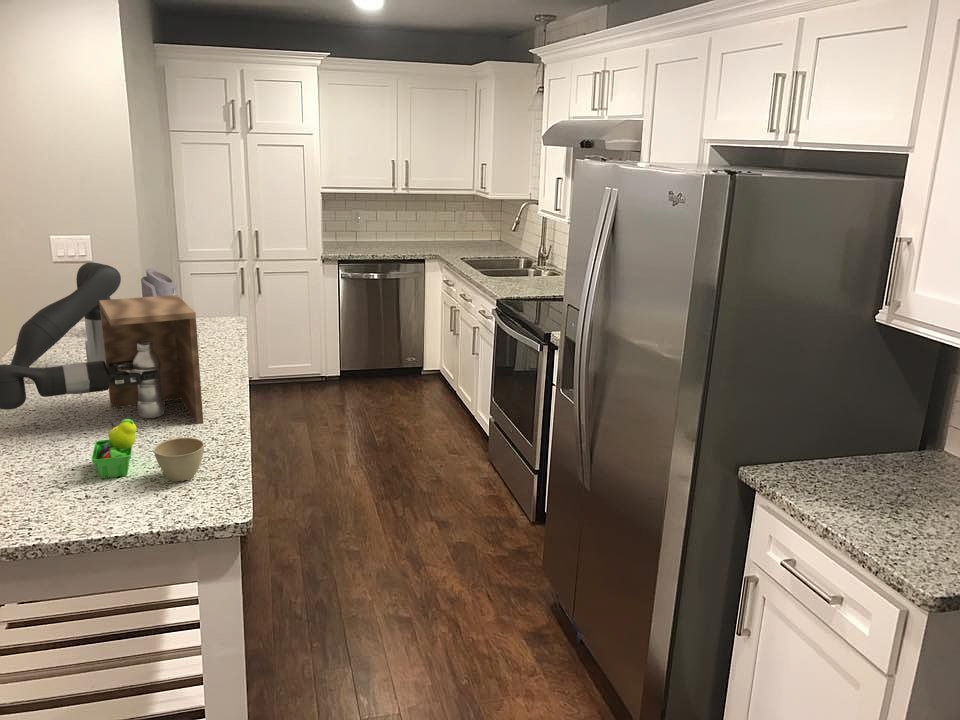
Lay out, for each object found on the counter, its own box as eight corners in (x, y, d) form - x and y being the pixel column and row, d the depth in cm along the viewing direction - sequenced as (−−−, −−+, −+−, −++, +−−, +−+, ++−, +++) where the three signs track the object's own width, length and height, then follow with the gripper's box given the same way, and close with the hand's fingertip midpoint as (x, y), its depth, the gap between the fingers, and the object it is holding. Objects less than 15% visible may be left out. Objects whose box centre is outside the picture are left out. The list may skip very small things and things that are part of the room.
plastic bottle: (156, 422, 194) (149, 346, 188) (132, 419, 195) (124, 344, 189) (171, 413, 200) (164, 340, 194) (148, 411, 201) (140, 338, 195)
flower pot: (164, 467, 168) (162, 437, 166) (211, 467, 169) (209, 437, 167) (149, 487, 159) (146, 455, 157) (199, 487, 159) (196, 455, 157)
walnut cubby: (122, 435, 185) (110, 319, 176) (110, 406, 203) (99, 300, 195) (203, 423, 194) (195, 312, 186) (185, 396, 213) (177, 294, 205)
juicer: (197, 331, 283) (193, 265, 276) (187, 342, 268) (182, 273, 261) (113, 330, 279) (106, 264, 272) (97, 341, 264) (90, 272, 257)
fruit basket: (97, 461, 170) (92, 414, 167) (140, 456, 173) (136, 410, 170) (93, 482, 160) (87, 432, 157) (139, 477, 163) (134, 428, 160)
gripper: (84, 384, 193) (152, 375, 202) (90, 400, 182) (162, 391, 190) (81, 355, 191) (150, 348, 200) (86, 370, 180) (159, 362, 188)
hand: (156, 369), depth 195 cm, fingers open, 8 cm apart
